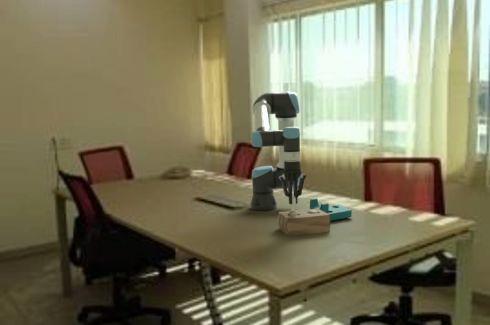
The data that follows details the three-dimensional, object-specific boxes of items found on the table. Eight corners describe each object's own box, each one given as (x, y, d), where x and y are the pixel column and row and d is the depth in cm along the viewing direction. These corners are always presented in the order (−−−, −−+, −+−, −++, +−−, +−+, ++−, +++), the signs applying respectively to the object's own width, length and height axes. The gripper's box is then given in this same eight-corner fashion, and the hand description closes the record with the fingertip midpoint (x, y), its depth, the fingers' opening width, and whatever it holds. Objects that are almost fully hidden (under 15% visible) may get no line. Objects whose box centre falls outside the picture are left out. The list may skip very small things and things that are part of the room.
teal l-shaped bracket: (321, 224, 259) (322, 204, 257) (309, 218, 269) (310, 198, 267) (351, 219, 267) (352, 199, 265) (338, 213, 277) (338, 194, 275)
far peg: (308, 227, 251) (307, 210, 250) (316, 226, 252) (315, 210, 251) (311, 229, 248) (311, 212, 246) (319, 228, 249) (319, 211, 247)
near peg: (288, 227, 249) (287, 210, 248) (296, 226, 250) (295, 210, 249) (291, 229, 245) (290, 212, 244) (299, 228, 246) (298, 211, 245)
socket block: (279, 228, 253) (278, 212, 252) (318, 224, 258) (317, 208, 257) (288, 236, 240) (288, 218, 238) (329, 231, 245) (329, 214, 243)
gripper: (281, 162, 238) (282, 213, 241) (308, 160, 241) (309, 211, 244) (276, 160, 245) (277, 210, 248) (302, 158, 248) (303, 208, 251)
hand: (293, 210), depth 246 cm, fingers closed
